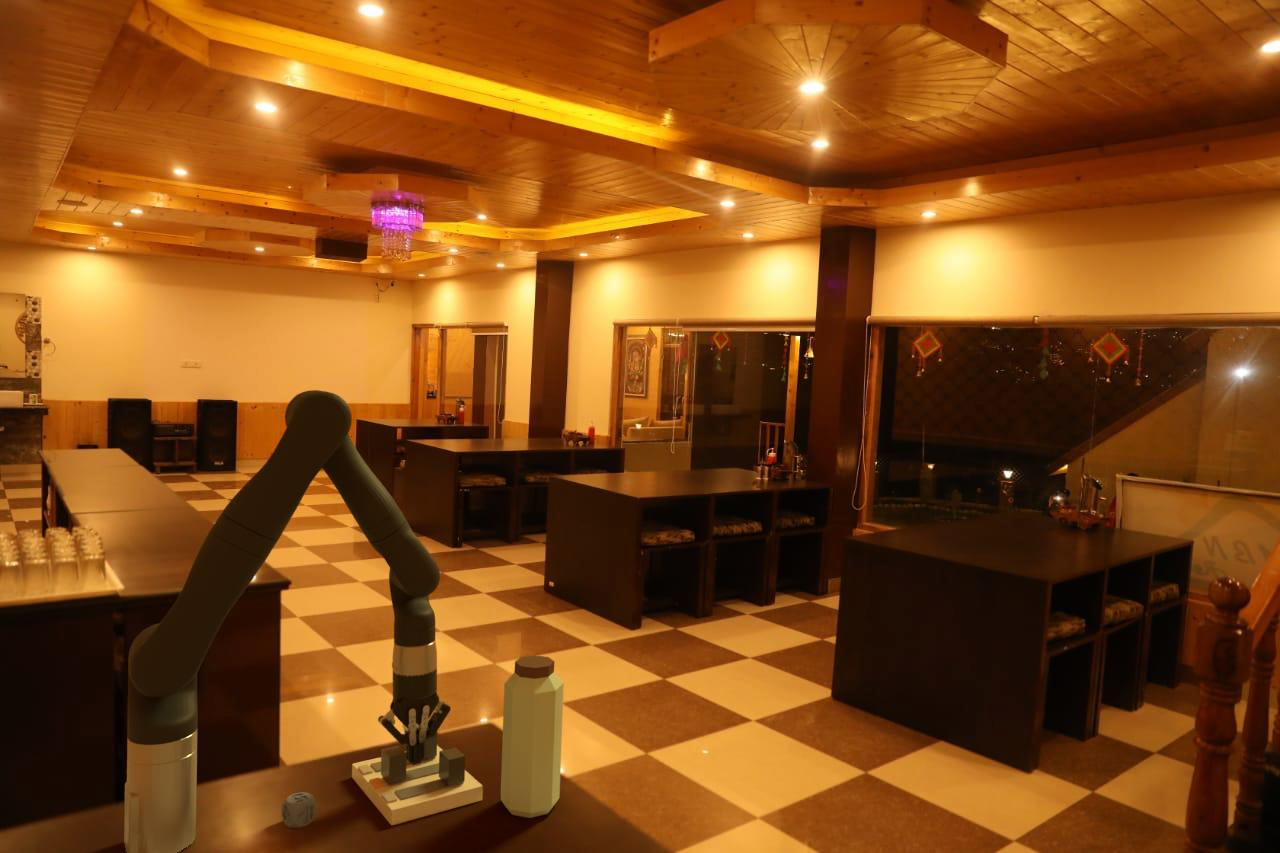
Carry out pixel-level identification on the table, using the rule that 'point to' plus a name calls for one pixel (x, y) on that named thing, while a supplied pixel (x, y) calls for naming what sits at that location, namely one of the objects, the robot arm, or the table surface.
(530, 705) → the water bottle
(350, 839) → the table surface
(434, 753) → the block
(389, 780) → the block
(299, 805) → the decorative dice
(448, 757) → the block
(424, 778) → the breaker panel
